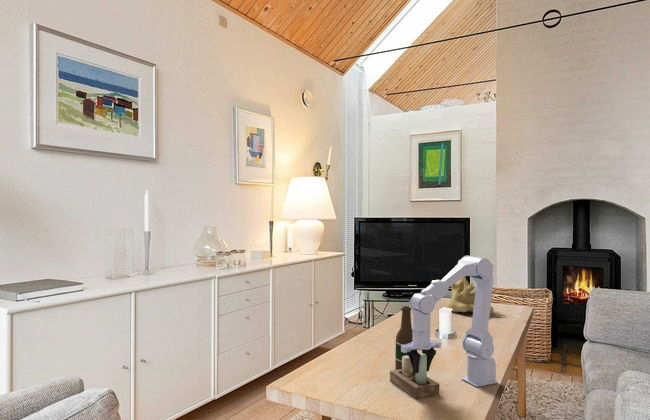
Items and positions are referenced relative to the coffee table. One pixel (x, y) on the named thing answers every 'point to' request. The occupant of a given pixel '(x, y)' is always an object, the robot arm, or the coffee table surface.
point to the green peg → (422, 370)
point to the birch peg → (406, 366)
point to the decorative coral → (463, 296)
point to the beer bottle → (403, 336)
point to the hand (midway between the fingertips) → (420, 371)
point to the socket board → (414, 385)
